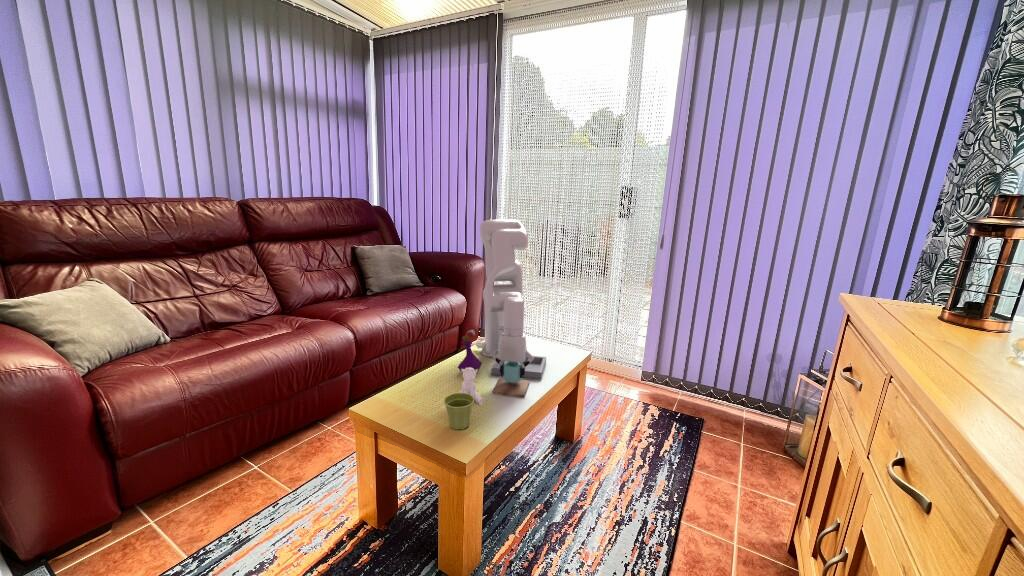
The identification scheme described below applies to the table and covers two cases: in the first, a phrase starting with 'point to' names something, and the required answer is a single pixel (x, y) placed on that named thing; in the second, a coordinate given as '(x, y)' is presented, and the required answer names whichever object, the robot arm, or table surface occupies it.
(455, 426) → the plant pot
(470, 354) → the perfume bottle
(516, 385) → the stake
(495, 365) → the tray
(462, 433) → the table surface
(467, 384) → the seated beast figurine
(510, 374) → the ring
